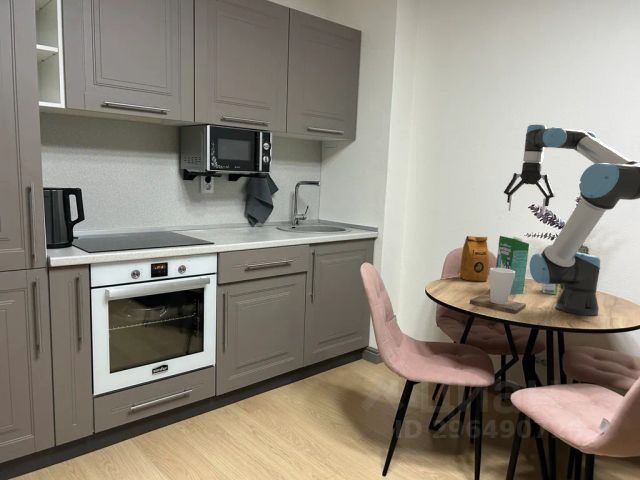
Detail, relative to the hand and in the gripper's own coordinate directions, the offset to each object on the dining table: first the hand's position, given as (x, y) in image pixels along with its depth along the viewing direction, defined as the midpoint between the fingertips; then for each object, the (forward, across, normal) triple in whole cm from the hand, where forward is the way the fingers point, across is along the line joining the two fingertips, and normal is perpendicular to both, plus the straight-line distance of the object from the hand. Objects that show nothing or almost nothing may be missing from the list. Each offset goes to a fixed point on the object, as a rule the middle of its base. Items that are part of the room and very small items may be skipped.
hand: (526, 212), depth 209 cm
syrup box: (+37, -9, -20) cm, 43 cm away
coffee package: (+37, +25, -15) cm, 47 cm away
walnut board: (+37, 0, +25) cm, 44 cm away
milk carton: (+37, +5, -5) cm, 38 cm away
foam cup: (+35, 0, +25) cm, 43 cm away
